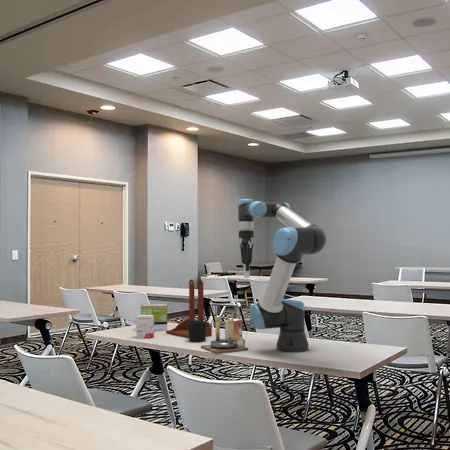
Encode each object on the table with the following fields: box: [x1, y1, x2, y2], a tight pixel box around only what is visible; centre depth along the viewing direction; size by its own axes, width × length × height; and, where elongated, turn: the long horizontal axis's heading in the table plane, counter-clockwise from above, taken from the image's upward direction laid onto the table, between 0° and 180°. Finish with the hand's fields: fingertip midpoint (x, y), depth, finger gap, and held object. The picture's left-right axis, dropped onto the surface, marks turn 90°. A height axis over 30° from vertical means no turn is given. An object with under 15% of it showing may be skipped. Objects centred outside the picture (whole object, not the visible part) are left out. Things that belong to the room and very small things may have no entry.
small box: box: [224, 318, 243, 341], centre depth 278 cm, size 8×6×10 cm
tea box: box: [140, 303, 168, 332], centre depth 314 cm, size 15×10×15 cm
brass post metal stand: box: [210, 315, 238, 348], centre depth 256 cm, size 13×13×14 cm
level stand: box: [200, 336, 249, 355], centre depth 255 cm, size 17×17×6 cm
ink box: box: [135, 314, 155, 339], centre depth 289 cm, size 9×5×12 cm, turn 79°
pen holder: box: [188, 319, 207, 343], centre depth 278 cm, size 9×9×10 cm
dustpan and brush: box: [165, 279, 213, 339], centre depth 296 cm, size 24×13×30 cm, turn 41°
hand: (246, 277), depth 269 cm, fingers closed
